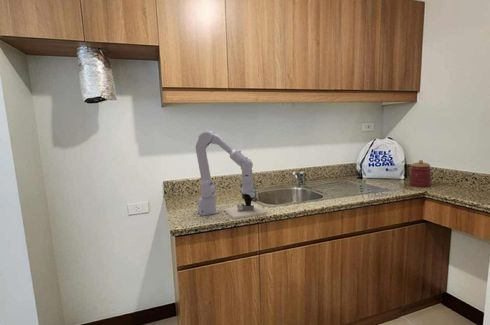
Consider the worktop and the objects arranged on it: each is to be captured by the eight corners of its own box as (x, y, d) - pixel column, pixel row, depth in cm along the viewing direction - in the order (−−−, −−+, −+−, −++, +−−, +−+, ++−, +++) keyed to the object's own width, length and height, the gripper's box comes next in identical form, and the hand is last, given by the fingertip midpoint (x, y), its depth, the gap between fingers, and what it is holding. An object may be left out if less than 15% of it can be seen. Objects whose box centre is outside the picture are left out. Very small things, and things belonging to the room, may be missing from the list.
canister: (431, 188, 181) (432, 161, 178) (408, 186, 187) (409, 161, 185) (430, 184, 192) (431, 159, 189) (409, 182, 198) (409, 158, 196)
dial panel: (233, 219, 135) (233, 217, 135) (224, 210, 150) (224, 208, 150) (266, 214, 141) (266, 211, 141) (254, 206, 156) (254, 204, 156)
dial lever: (236, 211, 143) (236, 205, 143) (238, 209, 147) (238, 203, 146) (253, 211, 141) (252, 205, 141) (254, 209, 145) (254, 203, 144)
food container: (261, 199, 169) (261, 184, 168) (254, 202, 165) (254, 185, 164) (247, 196, 178) (247, 181, 177) (240, 198, 174) (240, 183, 172)
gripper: (260, 184, 138) (260, 210, 140) (249, 179, 151) (250, 203, 153) (247, 185, 135) (248, 212, 137) (237, 180, 149) (238, 204, 151)
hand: (248, 207), depth 145 cm, fingers closed, pressing on dial lever
